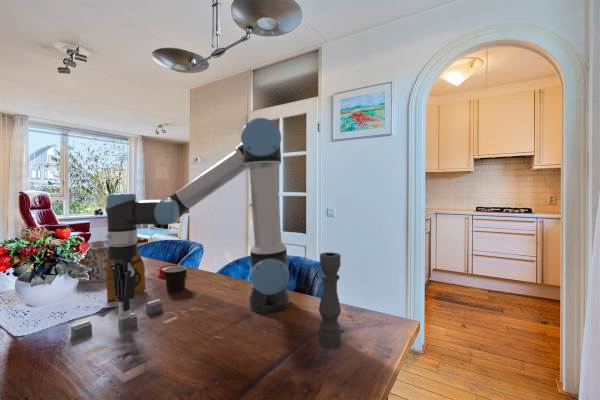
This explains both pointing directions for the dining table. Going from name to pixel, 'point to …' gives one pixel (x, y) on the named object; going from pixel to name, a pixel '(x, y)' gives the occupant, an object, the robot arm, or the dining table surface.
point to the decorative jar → (96, 261)
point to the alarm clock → (161, 270)
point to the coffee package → (140, 277)
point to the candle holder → (329, 301)
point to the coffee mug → (175, 278)
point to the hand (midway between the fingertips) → (124, 320)
